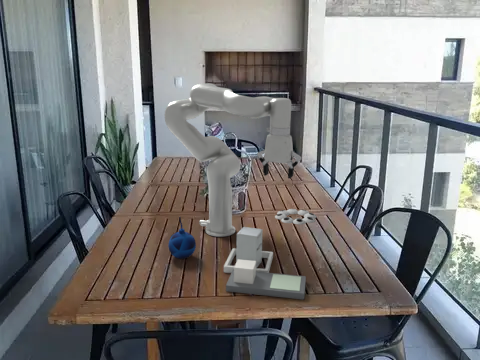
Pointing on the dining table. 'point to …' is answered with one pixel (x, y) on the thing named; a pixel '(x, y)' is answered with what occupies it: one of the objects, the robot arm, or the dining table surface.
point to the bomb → (182, 244)
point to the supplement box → (249, 245)
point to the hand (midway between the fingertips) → (278, 176)
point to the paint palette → (301, 212)
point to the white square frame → (264, 255)
